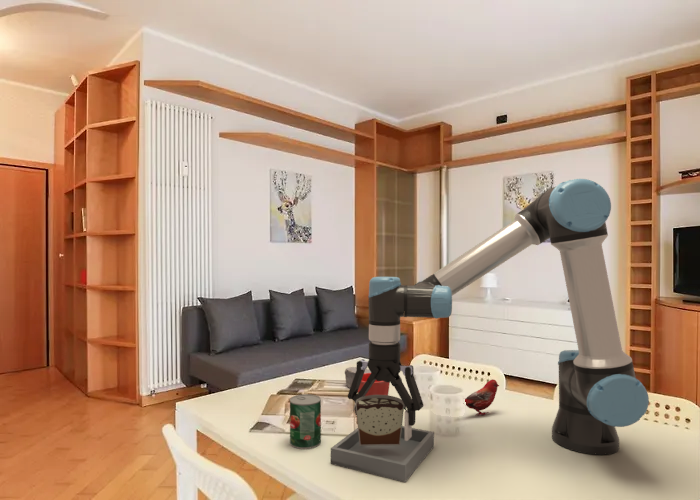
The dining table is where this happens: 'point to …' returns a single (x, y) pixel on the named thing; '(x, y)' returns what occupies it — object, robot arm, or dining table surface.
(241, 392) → the dining table surface
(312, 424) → the canned tomato
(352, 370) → the decorative stone
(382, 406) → the food container
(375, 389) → the flower pot
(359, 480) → the dining table surface
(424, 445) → the tray
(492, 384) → the decorative bird figurine
